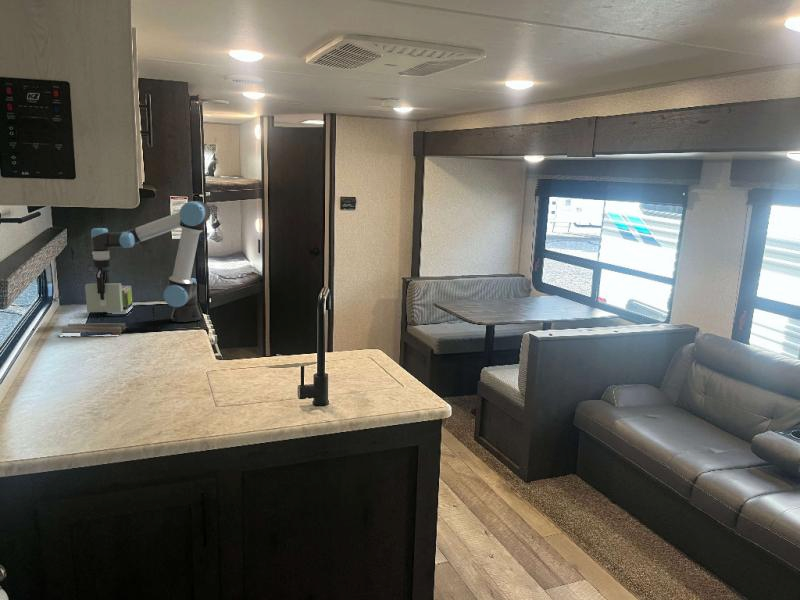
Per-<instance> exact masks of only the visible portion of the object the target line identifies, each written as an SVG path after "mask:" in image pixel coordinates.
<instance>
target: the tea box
mask: <svg viewBox="0 0 800 600" xmlns="http://www.w3.org/2000/svg"><path fill="white" fill-rule="evenodd" d="M121 287H122V302H123V311H121V312H106V313H112V314H126V313H128V312H129V311H130V310H131V309H132V308H133V307H134V305H133V294H132V285H121ZM133 309H134V308H133Z"/></svg>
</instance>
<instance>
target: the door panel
mask: <svg viewBox="0 0 800 600" xmlns="http://www.w3.org/2000/svg"><path fill="white" fill-rule="evenodd" d="M121 286H122V283H121V282H119V283H117V282H116V283H113V282H111V283H110V282H109V283H105V293H106V305H107V306H100V294H99V293H97V292H98V289H97V283H86V284H85V285H84V290H85V300H86V301H85V302H86V303H85V304H86V312H87V313H107V312H121V311H123V302H122V287H121Z"/></svg>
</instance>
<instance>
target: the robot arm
mask: <svg viewBox="0 0 800 600" xmlns="http://www.w3.org/2000/svg"><path fill="white" fill-rule="evenodd" d="M210 217H211V209H210V207H209V205H208V204H207V203H206V202H204V201H201V200H196V201H195V200H192V201H190V200H189V201H188V202H186V203H184V204H183V205H182V206H181V208H180V210H179V211H178V212H175V213H172V214H170V215H168V216H167V215H166V216H165V217H163V218H159V219H156V220H154V221H151V222H148V223H145V224H143V225H140V226H138V227H135V228H132V229H129V230H126V231H120V232H109V230H108V228H107V227H104V228H103V227H97V228H95V227H94V228H92V229H91V232H90V233H91V235H90V236H91V237H90V239H91V248H92V252H91V255H92V258H93V262H92V263H93V267H94V268H95V269H97V272H96V273H95V277H96V284H97V289H98V292H97V293H99V294H100V306H107V305H106V293H105V283H110V277H109V276H110V270H108V269H107V268H109V267H111V260H110V257H111V256H110V248H119V249H120V248H122V249H123V248H124V249H128V248H129V249H130V248H133V247H134V246H135V245H137V244H139V243H141V242H144V241H147V240H149V239H152V238H155V237H157V236H161V235H163V234H167V233H169V232H171V231H175V230H177V229H181V232H180V239H179V243H178V248H177V253H176V258H175V262H174V263H175V264H174V267H173V273H172V275H171V276H169V278H168V282H167V286H166V287H165V289H164V291H163V299H164V301H165V303H166V304H168V305H169V306H170V307H173V310H172V313H171V316H170V319H172V320H175V321H196V320H199V319H200V318H201V319H202V316H201V315H202V314H201V312H200V310H199V307H198V283H197V278H195V277H194V278H193V277H192V273H193V268H194V262H195V257H196V253H197V248H198V243H199V238H200V234H201V233H202V232H204V229H205V225H206V223H207V221H208V220H209V219H210Z"/></svg>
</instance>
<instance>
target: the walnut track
mask: <svg viewBox="0 0 800 600" xmlns="http://www.w3.org/2000/svg"><path fill="white" fill-rule="evenodd" d="M126 326H127V325H126V323H125V322H122V323H121V322H120V323H118V322H117V323H115V322H114V323H107V322H105V323H103V322H102V323H68V324H67V326H62V327H61V333H80V332H112V333H113V334H111V335H119V334H120V333H121V332H122V331H123V330H124V329H125V328H127V327H126ZM121 329H123V330H121Z"/></svg>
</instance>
